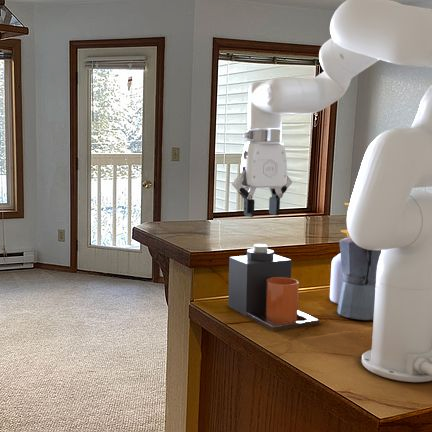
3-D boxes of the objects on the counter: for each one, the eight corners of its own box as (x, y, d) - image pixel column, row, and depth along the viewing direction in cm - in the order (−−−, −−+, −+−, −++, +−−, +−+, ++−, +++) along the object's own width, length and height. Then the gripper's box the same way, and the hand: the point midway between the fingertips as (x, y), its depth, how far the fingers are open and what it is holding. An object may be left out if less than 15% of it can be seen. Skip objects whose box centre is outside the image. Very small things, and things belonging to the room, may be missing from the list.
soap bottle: (322, 298, 141) (327, 201, 137) (352, 295, 143) (357, 200, 140) (344, 308, 132) (350, 206, 129) (376, 305, 135) (383, 204, 131)
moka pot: (370, 306, 134) (375, 224, 131) (392, 328, 118) (398, 236, 116) (329, 305, 135) (333, 224, 132) (346, 327, 119) (351, 235, 117)
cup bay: (319, 324, 121) (319, 319, 121) (272, 331, 117) (273, 326, 117) (289, 310, 131) (290, 306, 131) (246, 316, 126) (246, 312, 126)
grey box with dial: (289, 310, 131) (292, 252, 129) (246, 316, 126) (247, 256, 124) (270, 301, 138) (272, 246, 136) (228, 306, 134) (229, 249, 132)
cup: (303, 322, 122) (305, 283, 121) (277, 326, 120) (278, 286, 118) (284, 313, 128) (286, 275, 127) (259, 317, 126) (260, 278, 125)
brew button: (270, 253, 129) (270, 246, 129) (258, 254, 128) (258, 247, 128) (262, 250, 132) (262, 243, 132) (250, 251, 131) (251, 244, 131)
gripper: (239, 137, 120) (237, 219, 122) (305, 137, 126) (302, 215, 129) (222, 137, 127) (220, 215, 129) (285, 137, 133) (282, 211, 136)
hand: (261, 214), depth 129 cm, fingers open, 6 cm apart
